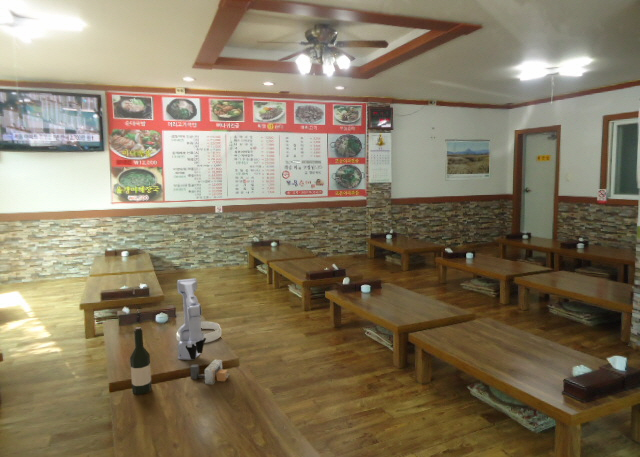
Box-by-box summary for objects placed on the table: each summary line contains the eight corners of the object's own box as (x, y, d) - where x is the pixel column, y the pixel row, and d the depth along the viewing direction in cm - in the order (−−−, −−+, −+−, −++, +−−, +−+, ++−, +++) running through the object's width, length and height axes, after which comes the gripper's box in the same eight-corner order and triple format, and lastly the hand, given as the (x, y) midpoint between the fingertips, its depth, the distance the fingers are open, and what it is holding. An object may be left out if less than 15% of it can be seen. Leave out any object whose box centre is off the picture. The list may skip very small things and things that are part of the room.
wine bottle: (155, 387, 211) (151, 325, 208) (143, 396, 203) (139, 331, 200) (141, 385, 214) (137, 324, 210) (128, 393, 206) (124, 329, 202)
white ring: (202, 326, 298) (202, 318, 298) (230, 334, 283) (230, 325, 282) (167, 338, 277) (167, 330, 276) (196, 347, 261) (195, 338, 260)
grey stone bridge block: (205, 384, 214) (204, 369, 213) (214, 373, 226) (214, 359, 225) (213, 384, 213) (212, 370, 213) (222, 373, 225) (221, 360, 224)
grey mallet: (190, 379, 219) (189, 367, 219) (194, 375, 223) (193, 364, 223) (227, 381, 216) (226, 369, 216) (230, 377, 220) (229, 365, 220)
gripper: (196, 334, 212) (197, 362, 214) (209, 324, 227) (210, 350, 228) (182, 334, 214) (184, 361, 215) (195, 324, 228) (197, 349, 229)
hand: (196, 355), depth 222 cm, fingers open, 7 cm apart
